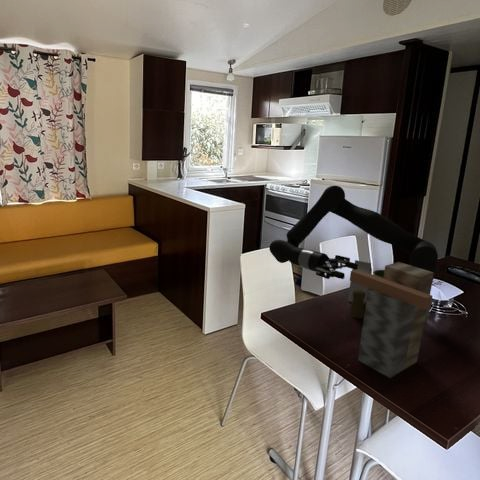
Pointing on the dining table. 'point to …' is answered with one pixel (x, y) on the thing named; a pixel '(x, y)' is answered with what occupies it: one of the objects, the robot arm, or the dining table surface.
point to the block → (391, 289)
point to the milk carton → (354, 286)
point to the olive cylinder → (357, 304)
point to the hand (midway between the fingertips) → (350, 271)
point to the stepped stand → (394, 323)
